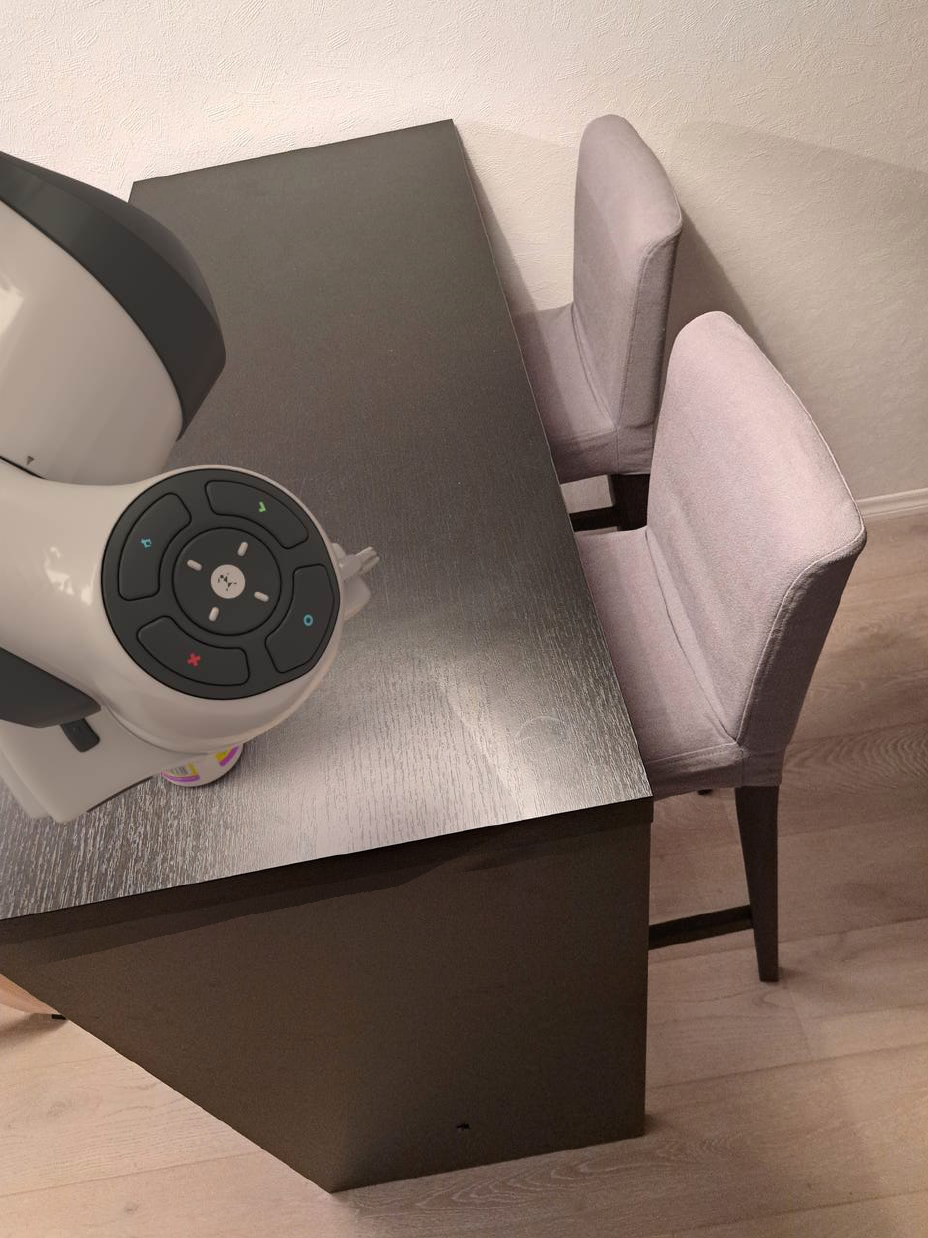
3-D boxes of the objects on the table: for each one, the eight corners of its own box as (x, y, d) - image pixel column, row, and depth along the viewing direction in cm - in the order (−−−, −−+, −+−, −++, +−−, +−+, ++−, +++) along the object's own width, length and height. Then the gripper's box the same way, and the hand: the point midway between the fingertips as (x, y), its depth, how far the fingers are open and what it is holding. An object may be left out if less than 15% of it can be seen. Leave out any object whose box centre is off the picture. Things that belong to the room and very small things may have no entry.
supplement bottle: (233, 709, 75) (174, 589, 66) (256, 765, 70) (195, 645, 62) (152, 745, 74) (81, 628, 65) (170, 805, 69) (96, 687, 60)
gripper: (350, 488, 46) (305, 556, 59) (-61, 721, 39) (-9, 740, 51) (421, 597, 46) (360, 641, 59) (25, 849, 39) (55, 836, 52)
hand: (185, 688), depth 55 cm, fingers open, 8 cm apart
